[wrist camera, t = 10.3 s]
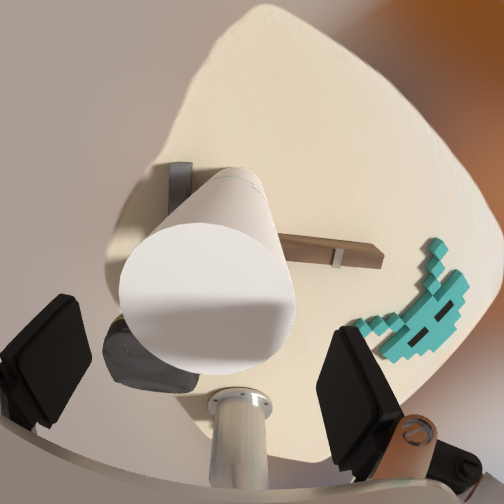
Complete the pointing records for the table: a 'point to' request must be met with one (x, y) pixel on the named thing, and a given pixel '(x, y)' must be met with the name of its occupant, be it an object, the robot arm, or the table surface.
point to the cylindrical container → (211, 281)
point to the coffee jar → (141, 364)
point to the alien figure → (423, 314)
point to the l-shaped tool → (291, 245)
